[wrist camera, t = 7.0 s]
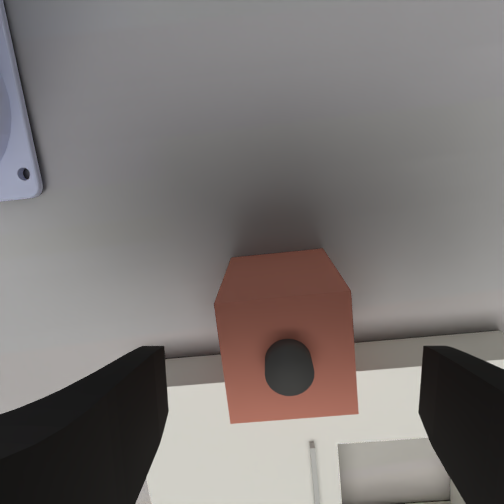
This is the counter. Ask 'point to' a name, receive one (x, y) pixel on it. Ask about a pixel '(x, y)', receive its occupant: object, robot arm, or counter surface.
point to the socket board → (290, 429)
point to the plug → (286, 338)
